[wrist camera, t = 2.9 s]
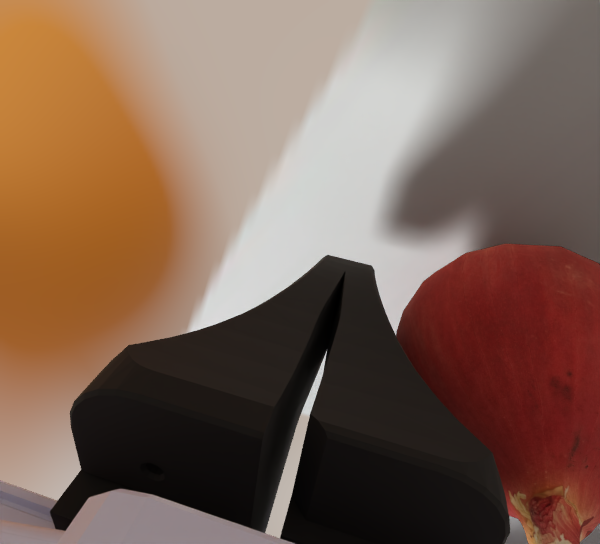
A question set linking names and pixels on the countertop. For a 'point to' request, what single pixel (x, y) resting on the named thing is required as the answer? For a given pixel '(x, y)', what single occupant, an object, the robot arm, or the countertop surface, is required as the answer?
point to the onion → (520, 374)
